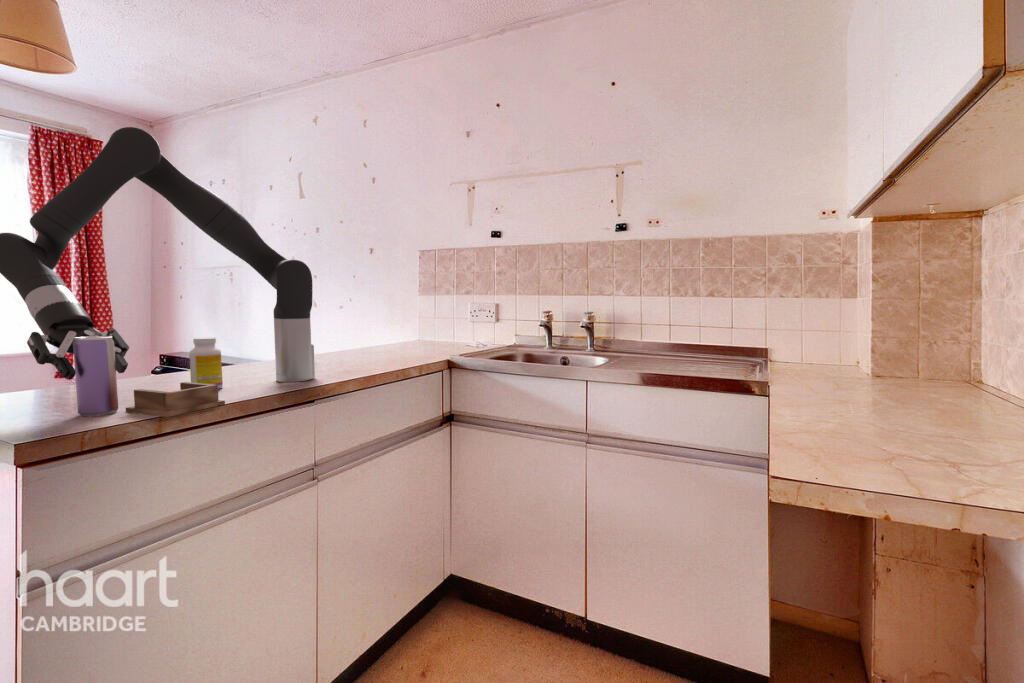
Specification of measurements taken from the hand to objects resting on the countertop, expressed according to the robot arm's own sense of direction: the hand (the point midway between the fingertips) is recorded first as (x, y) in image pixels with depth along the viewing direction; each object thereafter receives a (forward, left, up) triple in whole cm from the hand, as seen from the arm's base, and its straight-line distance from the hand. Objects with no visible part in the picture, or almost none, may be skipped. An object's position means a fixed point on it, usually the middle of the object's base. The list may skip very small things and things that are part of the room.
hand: (98, 373), depth 92 cm
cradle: (-9, +8, -8) cm, 15 cm away
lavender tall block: (0, -1, -8) cm, 8 cm away
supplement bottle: (-26, -6, -8) cm, 28 cm away
